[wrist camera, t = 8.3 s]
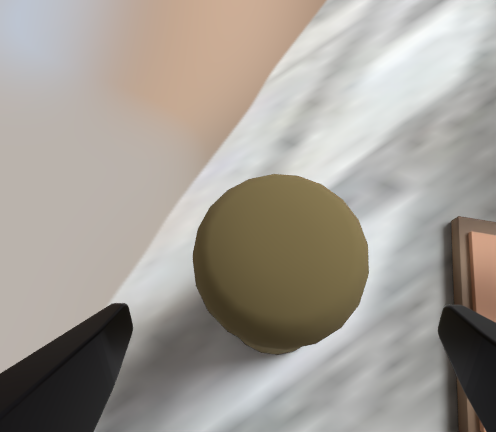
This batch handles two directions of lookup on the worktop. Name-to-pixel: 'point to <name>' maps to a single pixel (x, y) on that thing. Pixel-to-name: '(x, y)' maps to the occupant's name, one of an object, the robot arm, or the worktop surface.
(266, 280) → the cork
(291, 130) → the worktop surface
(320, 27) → the worktop surface
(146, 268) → the worktop surface
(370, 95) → the worktop surface
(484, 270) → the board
